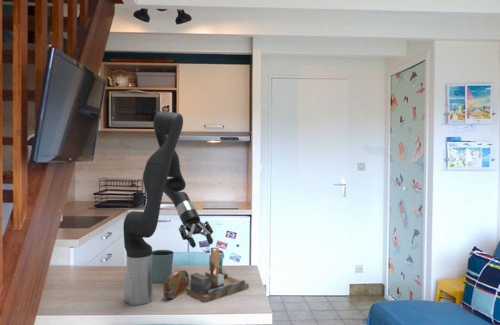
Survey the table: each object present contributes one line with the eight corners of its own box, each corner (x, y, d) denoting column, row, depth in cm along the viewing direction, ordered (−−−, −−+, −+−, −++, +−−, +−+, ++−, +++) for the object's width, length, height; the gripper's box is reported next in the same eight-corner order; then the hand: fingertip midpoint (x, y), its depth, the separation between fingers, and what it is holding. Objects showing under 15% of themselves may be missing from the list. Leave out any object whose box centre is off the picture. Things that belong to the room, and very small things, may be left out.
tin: (168, 301, 142) (168, 279, 142) (161, 300, 143) (161, 278, 143) (189, 288, 156) (189, 268, 156) (182, 287, 157) (182, 267, 157)
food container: (223, 278, 169) (223, 256, 168) (209, 278, 169) (209, 255, 169) (225, 269, 181) (225, 248, 181) (212, 269, 181) (212, 248, 181)
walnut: (205, 291, 147) (205, 282, 147) (200, 289, 150) (200, 280, 150) (213, 289, 150) (213, 280, 149) (207, 287, 152) (207, 278, 152)
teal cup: (145, 279, 167) (145, 252, 167) (166, 274, 174) (166, 248, 173) (156, 285, 159) (156, 256, 159) (177, 280, 166) (177, 252, 166)
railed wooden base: (205, 302, 142) (205, 281, 141) (186, 293, 150) (186, 273, 150) (248, 288, 157) (248, 268, 157) (229, 280, 165) (229, 262, 165)
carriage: (217, 289, 148) (217, 251, 148) (205, 284, 154) (205, 247, 154) (223, 287, 150) (224, 249, 150) (211, 282, 156) (211, 246, 156)
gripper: (176, 209, 159) (192, 242, 150) (204, 206, 168) (220, 237, 160) (170, 220, 163) (184, 253, 154) (197, 217, 172) (213, 247, 164)
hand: (203, 244), depth 157 cm, fingers open, 8 cm apart
